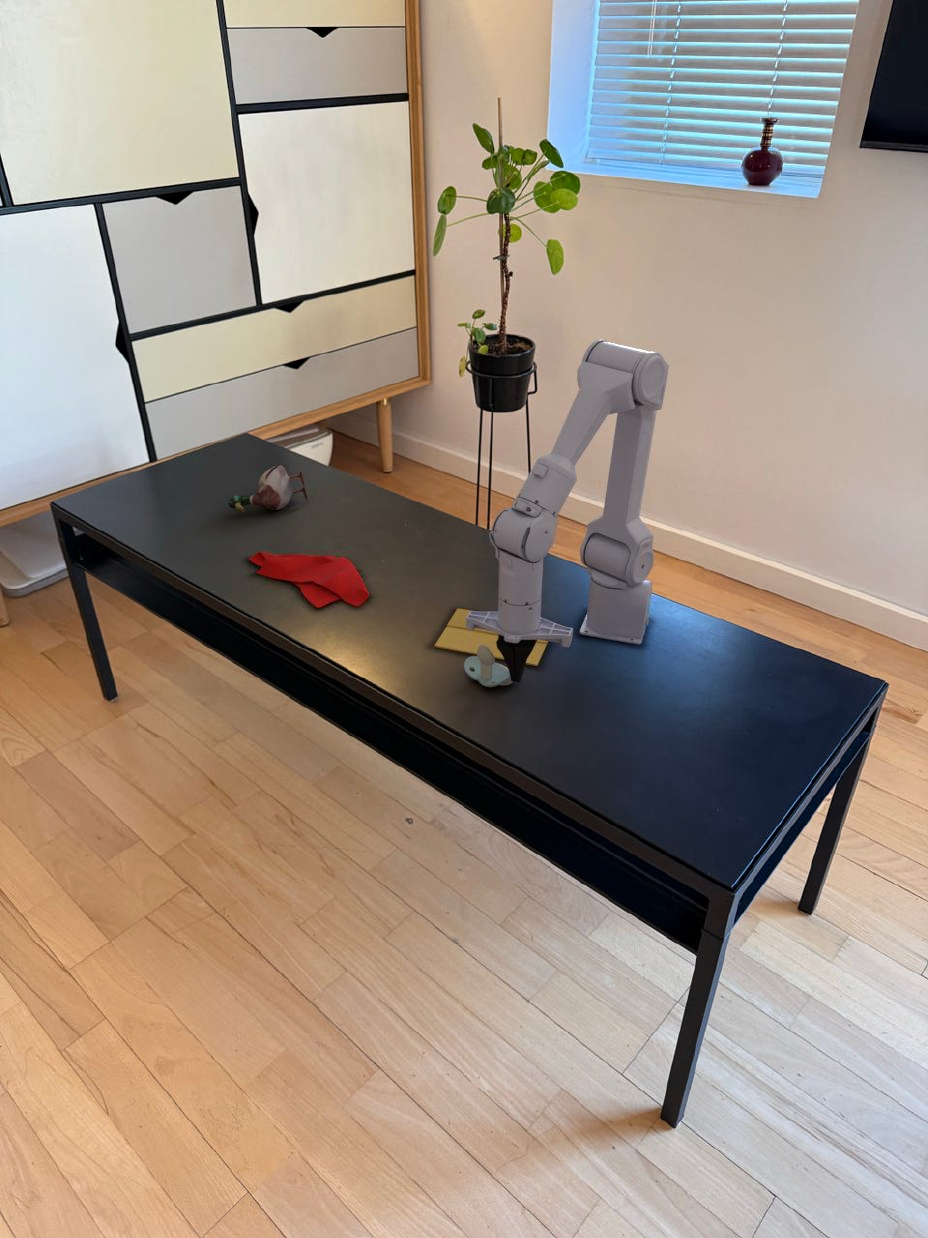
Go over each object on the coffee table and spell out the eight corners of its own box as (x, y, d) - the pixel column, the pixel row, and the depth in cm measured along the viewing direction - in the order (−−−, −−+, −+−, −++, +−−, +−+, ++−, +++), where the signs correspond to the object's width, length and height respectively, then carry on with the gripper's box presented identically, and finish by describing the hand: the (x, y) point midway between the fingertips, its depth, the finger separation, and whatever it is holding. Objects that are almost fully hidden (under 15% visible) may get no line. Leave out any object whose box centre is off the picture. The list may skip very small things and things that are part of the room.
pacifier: (488, 660, 131) (458, 676, 127) (489, 624, 128) (459, 639, 124) (524, 682, 126) (494, 698, 123) (526, 645, 123) (496, 661, 120)
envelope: (554, 627, 138) (555, 624, 138) (537, 666, 129) (537, 663, 129) (458, 610, 143) (457, 607, 142) (434, 647, 134) (434, 644, 133)
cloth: (396, 588, 148) (395, 576, 147) (330, 619, 140) (329, 607, 139) (304, 538, 164) (303, 527, 163) (240, 563, 156) (238, 552, 155)
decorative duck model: (225, 495, 165) (218, 462, 177) (235, 530, 169) (227, 496, 181) (304, 478, 168) (292, 447, 180) (312, 513, 172) (300, 480, 184)
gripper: (458, 600, 116) (459, 684, 123) (566, 619, 112) (560, 704, 120) (474, 575, 122) (474, 656, 129) (578, 592, 118) (572, 675, 125)
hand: (516, 677), depth 125 cm, fingers closed
